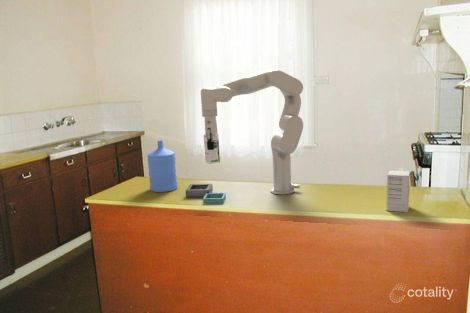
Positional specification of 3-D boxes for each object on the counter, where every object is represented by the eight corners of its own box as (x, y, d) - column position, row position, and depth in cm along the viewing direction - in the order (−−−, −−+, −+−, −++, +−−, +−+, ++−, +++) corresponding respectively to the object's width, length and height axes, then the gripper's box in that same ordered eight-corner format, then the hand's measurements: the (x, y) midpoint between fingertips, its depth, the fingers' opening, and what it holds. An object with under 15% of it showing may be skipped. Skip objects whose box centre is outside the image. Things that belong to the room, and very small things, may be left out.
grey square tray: (212, 190, 241) (212, 183, 241) (209, 197, 229) (208, 190, 228) (190, 191, 243) (190, 184, 242) (186, 197, 230) (185, 190, 230)
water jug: (168, 193, 240) (164, 143, 234) (144, 191, 246) (140, 143, 240) (182, 186, 254) (179, 139, 248) (159, 184, 260) (155, 138, 254)
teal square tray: (225, 197, 228) (225, 192, 227) (223, 203, 218) (223, 198, 217) (206, 197, 229) (206, 193, 228) (203, 203, 219) (203, 198, 218)
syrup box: (209, 164, 216) (208, 135, 212) (205, 162, 221) (203, 134, 218) (220, 162, 218) (218, 134, 215) (215, 160, 223) (213, 132, 220)
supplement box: (408, 212, 192) (409, 176, 189) (386, 210, 196) (387, 174, 192) (408, 206, 201) (410, 170, 197) (387, 204, 204) (388, 169, 201)
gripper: (214, 114, 205) (216, 151, 209) (219, 111, 222) (221, 144, 226) (199, 115, 206) (201, 151, 210) (205, 111, 223) (207, 145, 227)
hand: (211, 147), depth 218 cm, fingers closed on syrup box, 7 cm apart
